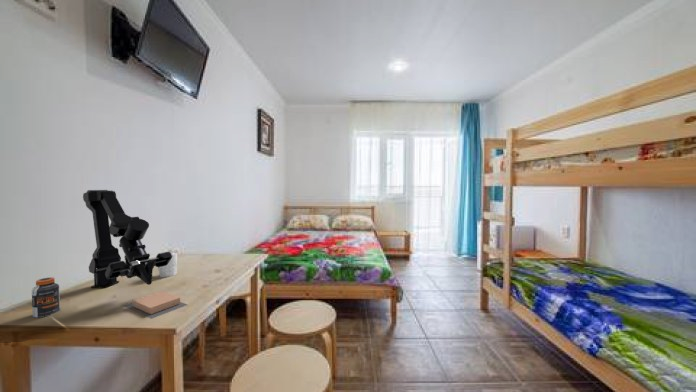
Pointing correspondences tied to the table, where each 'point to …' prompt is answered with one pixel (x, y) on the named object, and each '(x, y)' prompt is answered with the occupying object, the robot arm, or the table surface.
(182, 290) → the table surface
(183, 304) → the mat
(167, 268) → the white cup
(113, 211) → the robot arm
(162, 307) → the tile
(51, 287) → the pill bottle
